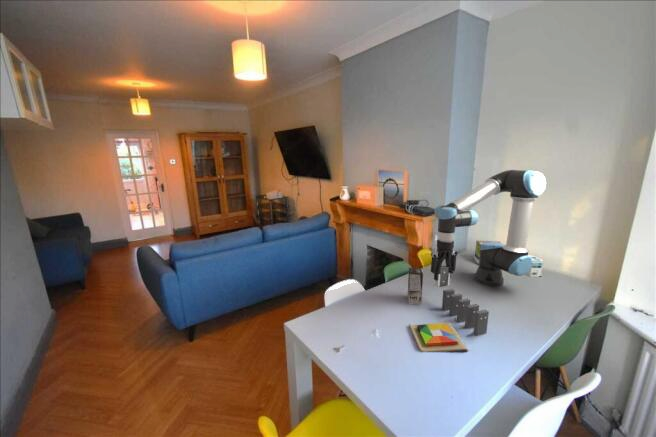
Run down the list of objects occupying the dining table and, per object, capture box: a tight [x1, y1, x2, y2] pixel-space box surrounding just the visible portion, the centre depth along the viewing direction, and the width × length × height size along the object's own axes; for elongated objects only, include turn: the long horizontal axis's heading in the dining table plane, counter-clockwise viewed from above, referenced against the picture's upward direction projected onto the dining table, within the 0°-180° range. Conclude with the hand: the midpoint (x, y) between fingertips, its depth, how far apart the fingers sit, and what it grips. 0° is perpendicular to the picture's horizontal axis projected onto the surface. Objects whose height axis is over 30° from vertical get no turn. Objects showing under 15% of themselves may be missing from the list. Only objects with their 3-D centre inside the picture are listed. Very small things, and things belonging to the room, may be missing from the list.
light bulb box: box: [525, 254, 544, 278], centre depth 176 cm, size 11×7×11 cm, turn 179°
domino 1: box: [438, 264, 449, 288], centre depth 140 cm, size 2×5×10 cm, turn 107°
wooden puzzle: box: [408, 322, 469, 353], centre depth 117 cm, size 18×19×4 cm
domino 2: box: [441, 288, 455, 312], centre depth 137 cm, size 2×5×10 cm, turn 107°
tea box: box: [473, 240, 502, 265], centre depth 193 cm, size 15×10×15 cm, turn 81°
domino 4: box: [456, 298, 471, 323], centre depth 128 cm, size 2×5×10 cm, turn 107°
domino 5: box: [464, 303, 480, 330], centre depth 123 cm, size 2×5×10 cm, turn 107°
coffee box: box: [407, 267, 424, 305], centre depth 146 cm, size 9×6×16 cm
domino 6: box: [472, 309, 490, 336], centre depth 118 cm, size 2×5×10 cm, turn 107°
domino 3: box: [448, 293, 463, 317], centre depth 132 cm, size 2×5×10 cm, turn 107°
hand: (441, 285), depth 141 cm, fingers closed on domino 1, 5 cm apart
